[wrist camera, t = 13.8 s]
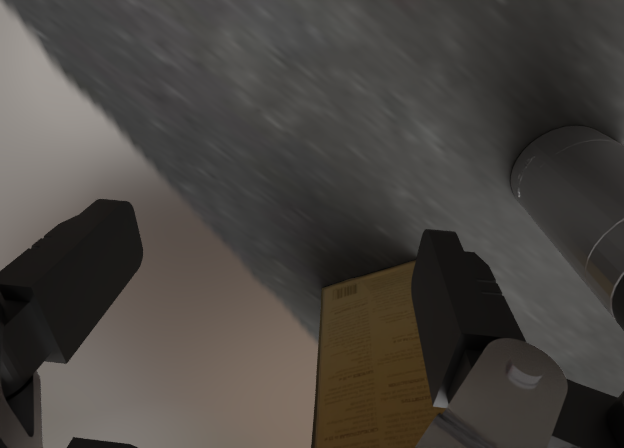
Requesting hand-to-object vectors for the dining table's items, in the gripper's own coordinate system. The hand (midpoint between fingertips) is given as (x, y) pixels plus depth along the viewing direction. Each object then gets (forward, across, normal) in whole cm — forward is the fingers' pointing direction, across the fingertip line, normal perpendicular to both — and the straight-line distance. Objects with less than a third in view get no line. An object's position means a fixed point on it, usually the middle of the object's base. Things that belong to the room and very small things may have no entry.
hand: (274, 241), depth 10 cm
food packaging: (+28, -9, +27) cm, 40 cm away
